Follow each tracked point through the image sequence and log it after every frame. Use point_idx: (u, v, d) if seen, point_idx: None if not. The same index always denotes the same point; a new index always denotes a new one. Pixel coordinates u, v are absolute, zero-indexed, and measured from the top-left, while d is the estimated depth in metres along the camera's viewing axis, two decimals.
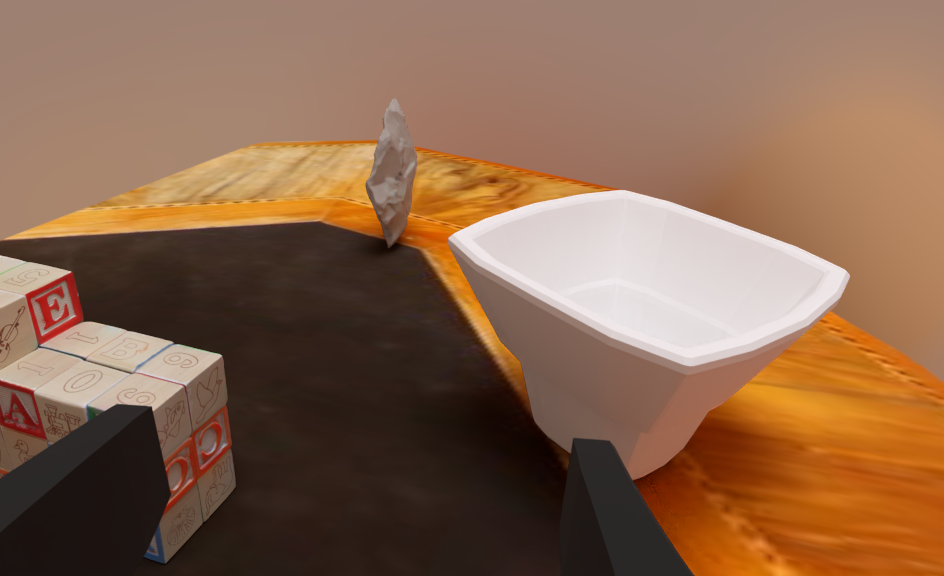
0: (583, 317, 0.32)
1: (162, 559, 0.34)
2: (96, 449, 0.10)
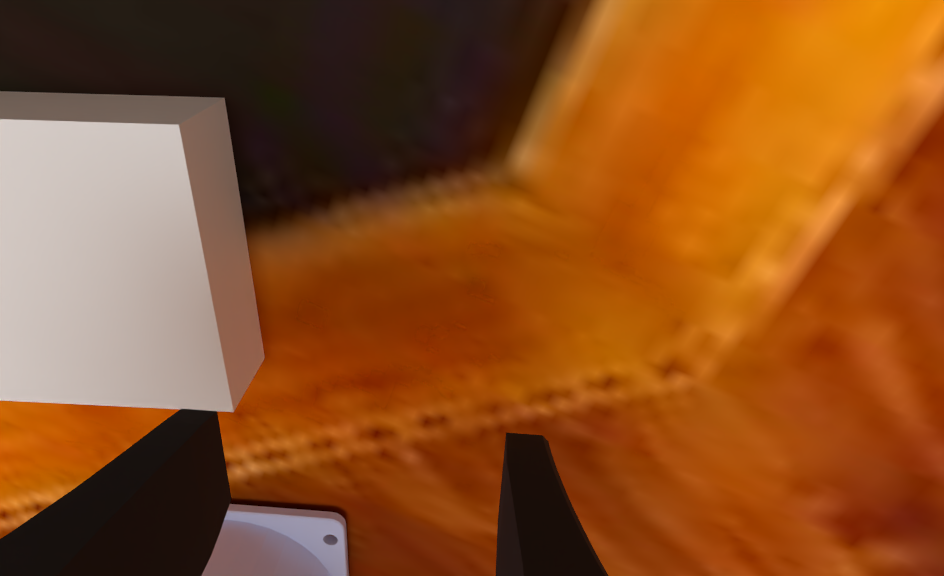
0: None
1: None
2: (170, 454, 0.10)
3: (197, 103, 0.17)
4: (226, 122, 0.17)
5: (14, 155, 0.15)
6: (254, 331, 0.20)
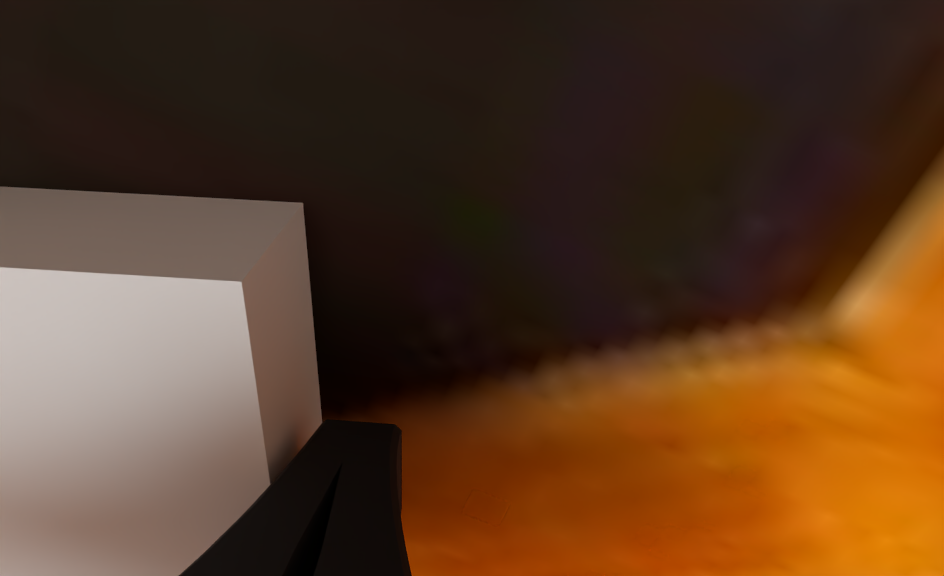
0: None
1: None
2: (337, 467, 0.10)
3: (261, 219, 0.10)
4: (302, 242, 0.11)
5: None
6: None
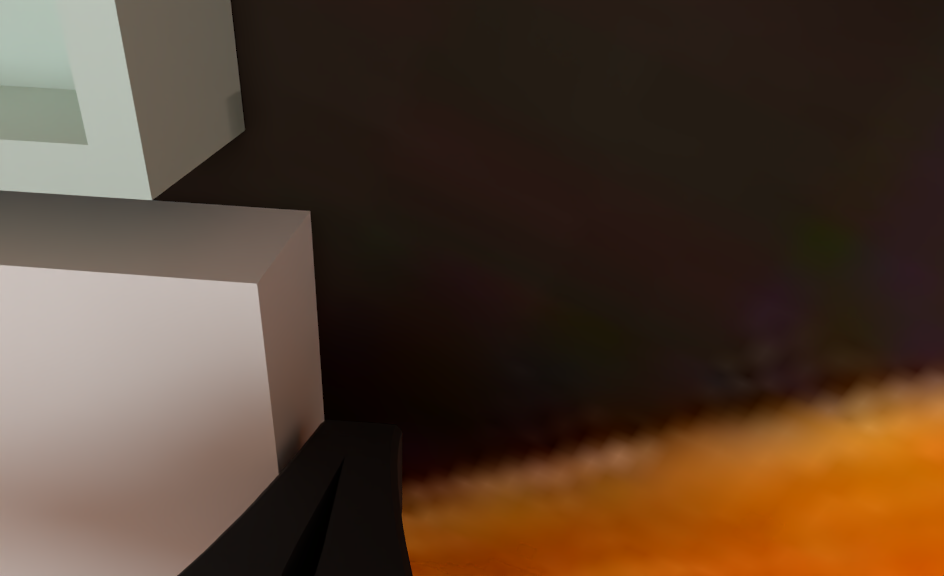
0: None
1: None
2: (336, 467, 0.10)
3: (273, 221, 0.10)
4: None
5: None
6: None
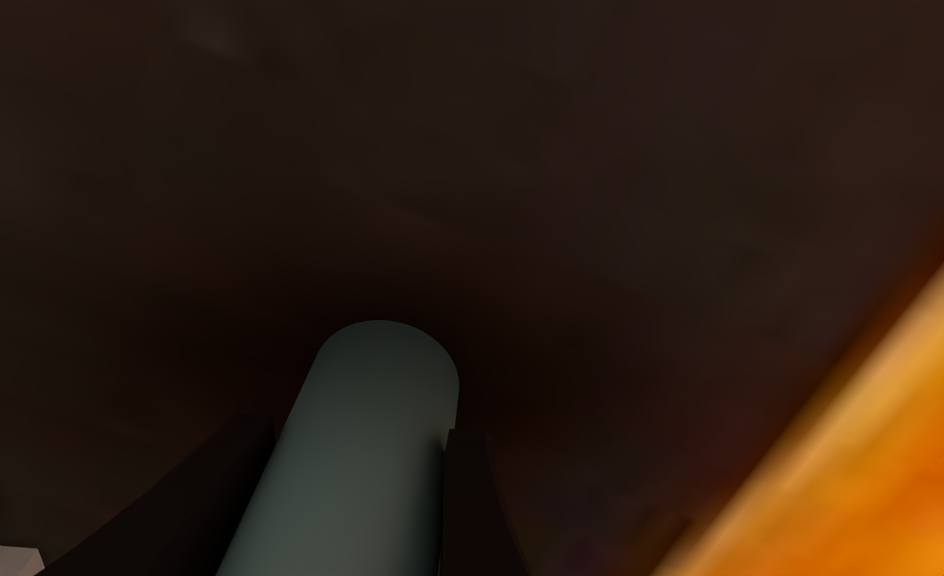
0: None
1: None
2: (234, 459, 0.10)
3: (3, 569, 0.16)
4: (41, 568, 0.17)
5: None
6: None
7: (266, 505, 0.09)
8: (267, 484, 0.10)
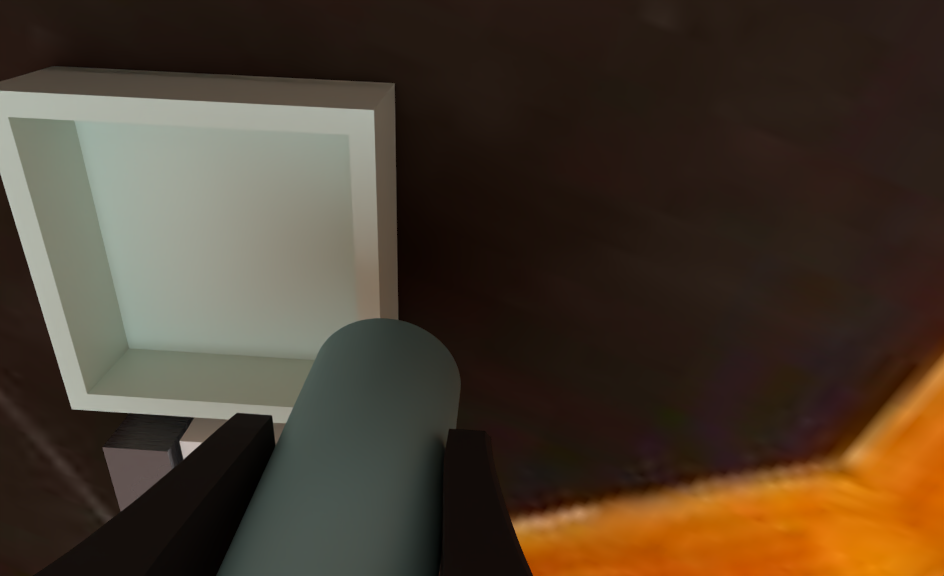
0: None
1: None
2: (234, 460, 0.10)
3: None
4: None
5: None
6: None
7: (268, 503, 0.09)
8: (269, 482, 0.10)
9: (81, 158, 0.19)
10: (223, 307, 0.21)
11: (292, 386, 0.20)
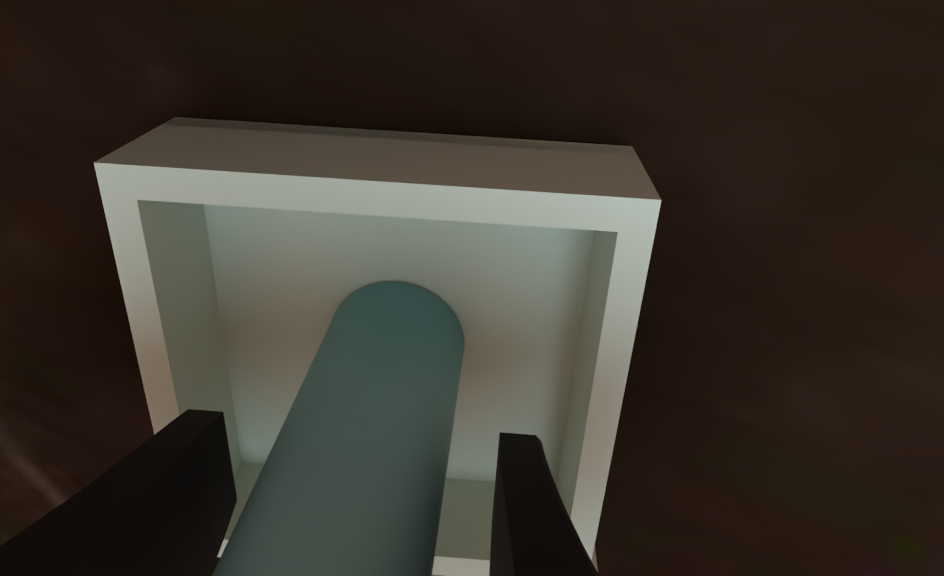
0: None
1: None
2: (178, 455, 0.10)
3: None
4: None
5: None
6: None
7: (294, 434, 0.11)
8: (294, 418, 0.11)
9: (206, 237, 0.14)
10: None
11: (462, 523, 0.16)
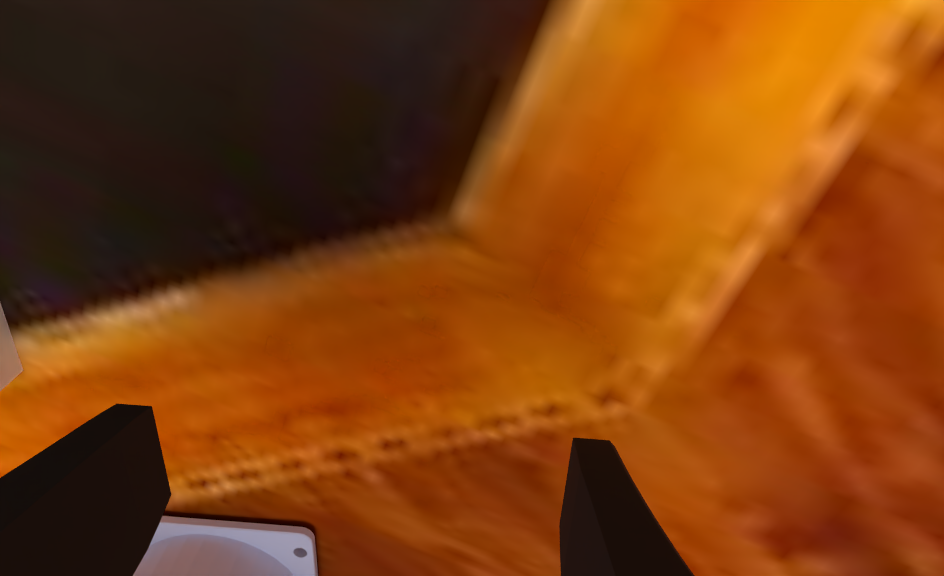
0: None
1: None
2: (96, 449, 0.10)
3: None
4: None
5: None
6: (3, 347, 0.22)
7: None
8: None
9: None
10: None
11: None
